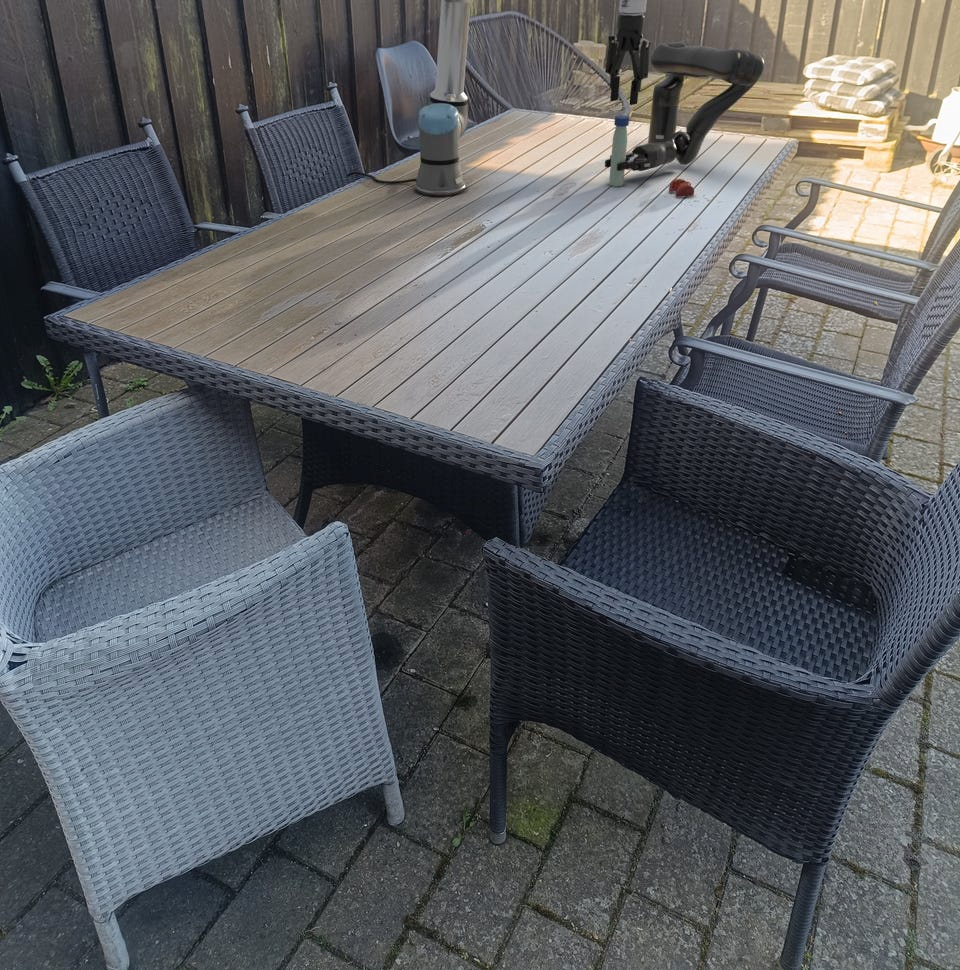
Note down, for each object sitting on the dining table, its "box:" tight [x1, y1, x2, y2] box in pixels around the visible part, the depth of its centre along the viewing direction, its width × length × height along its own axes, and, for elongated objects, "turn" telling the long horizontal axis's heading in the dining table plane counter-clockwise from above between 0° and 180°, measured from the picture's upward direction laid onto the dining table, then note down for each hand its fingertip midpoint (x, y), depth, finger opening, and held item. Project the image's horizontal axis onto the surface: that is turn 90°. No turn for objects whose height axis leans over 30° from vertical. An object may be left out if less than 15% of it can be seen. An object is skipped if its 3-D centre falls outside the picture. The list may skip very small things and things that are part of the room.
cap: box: [614, 114, 630, 127], centre depth 252 cm, size 4×4×2 cm
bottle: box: [608, 126, 629, 187], centre depth 258 cm, size 4×4×19 cm
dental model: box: [668, 178, 695, 198], centre depth 254 cm, size 6×4×8 cm
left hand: (623, 102), depth 249 cm, fingers open, 7 cm apart
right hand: (611, 165), depth 258 cm, fingers closed on bottle, 4 cm apart
